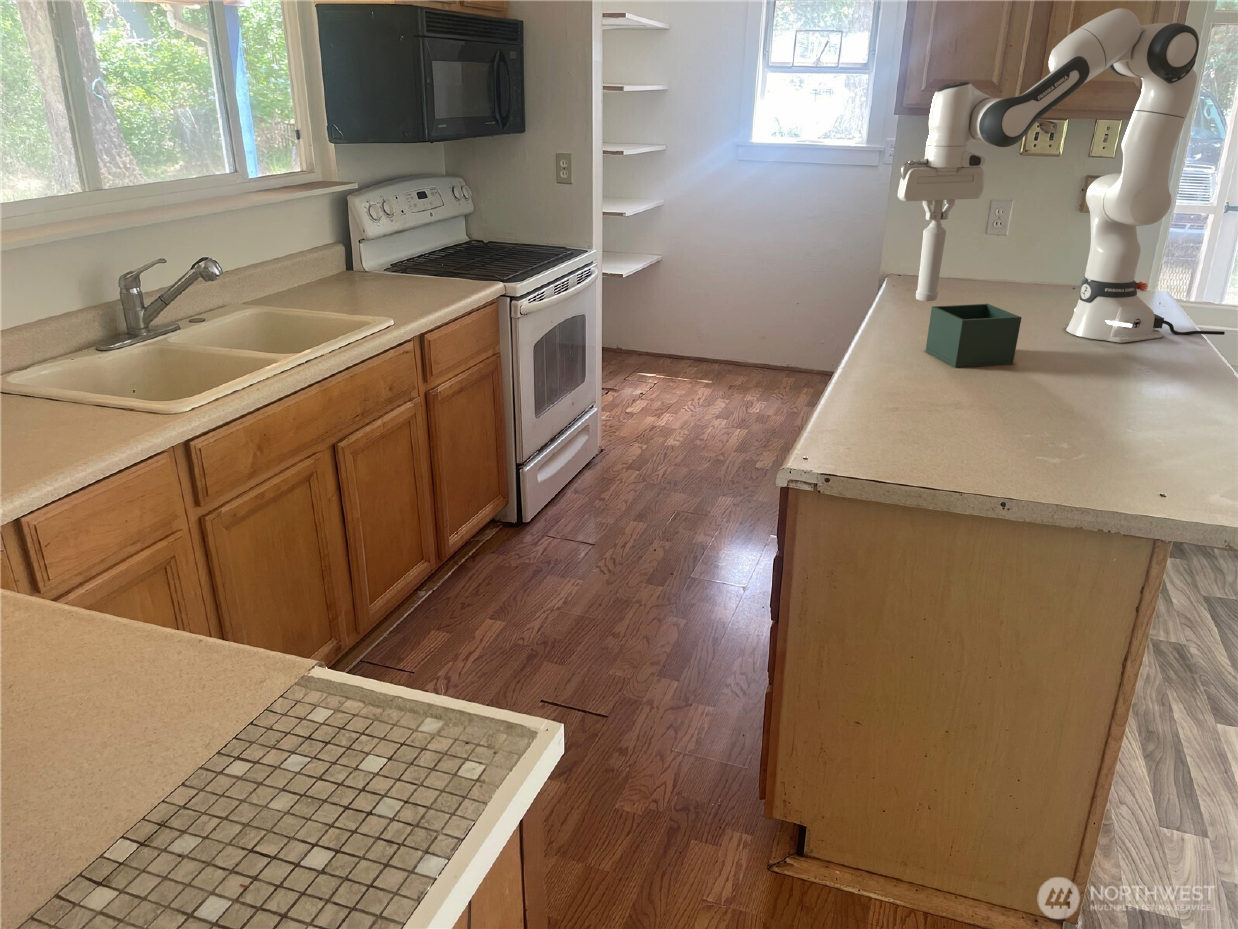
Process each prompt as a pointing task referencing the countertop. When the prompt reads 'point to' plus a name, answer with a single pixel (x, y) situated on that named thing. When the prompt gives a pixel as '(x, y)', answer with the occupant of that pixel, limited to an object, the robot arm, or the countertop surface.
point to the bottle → (931, 256)
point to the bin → (973, 335)
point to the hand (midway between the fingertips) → (936, 219)
